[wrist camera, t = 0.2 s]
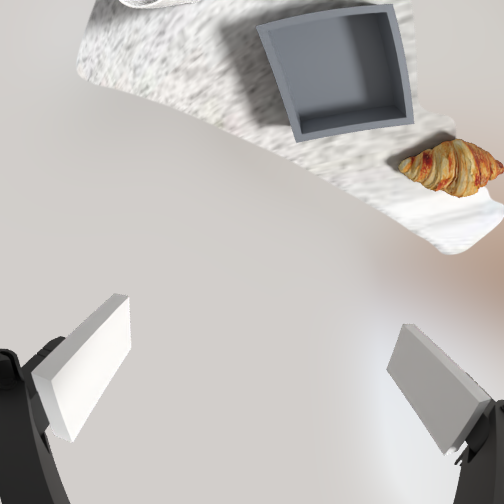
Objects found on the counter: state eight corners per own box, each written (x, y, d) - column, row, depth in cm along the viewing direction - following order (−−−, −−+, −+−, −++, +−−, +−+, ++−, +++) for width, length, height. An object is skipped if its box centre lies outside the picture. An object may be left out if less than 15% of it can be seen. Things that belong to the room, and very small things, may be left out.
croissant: (390, 167, 46) (400, 209, 43) (397, 132, 36) (411, 179, 34) (487, 164, 40) (500, 202, 37) (506, 134, 30) (523, 176, 28)
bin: (260, 25, 29) (255, 26, 25) (378, 4, 24) (392, 4, 20) (295, 126, 40) (296, 142, 36) (399, 108, 35) (414, 123, 30)
